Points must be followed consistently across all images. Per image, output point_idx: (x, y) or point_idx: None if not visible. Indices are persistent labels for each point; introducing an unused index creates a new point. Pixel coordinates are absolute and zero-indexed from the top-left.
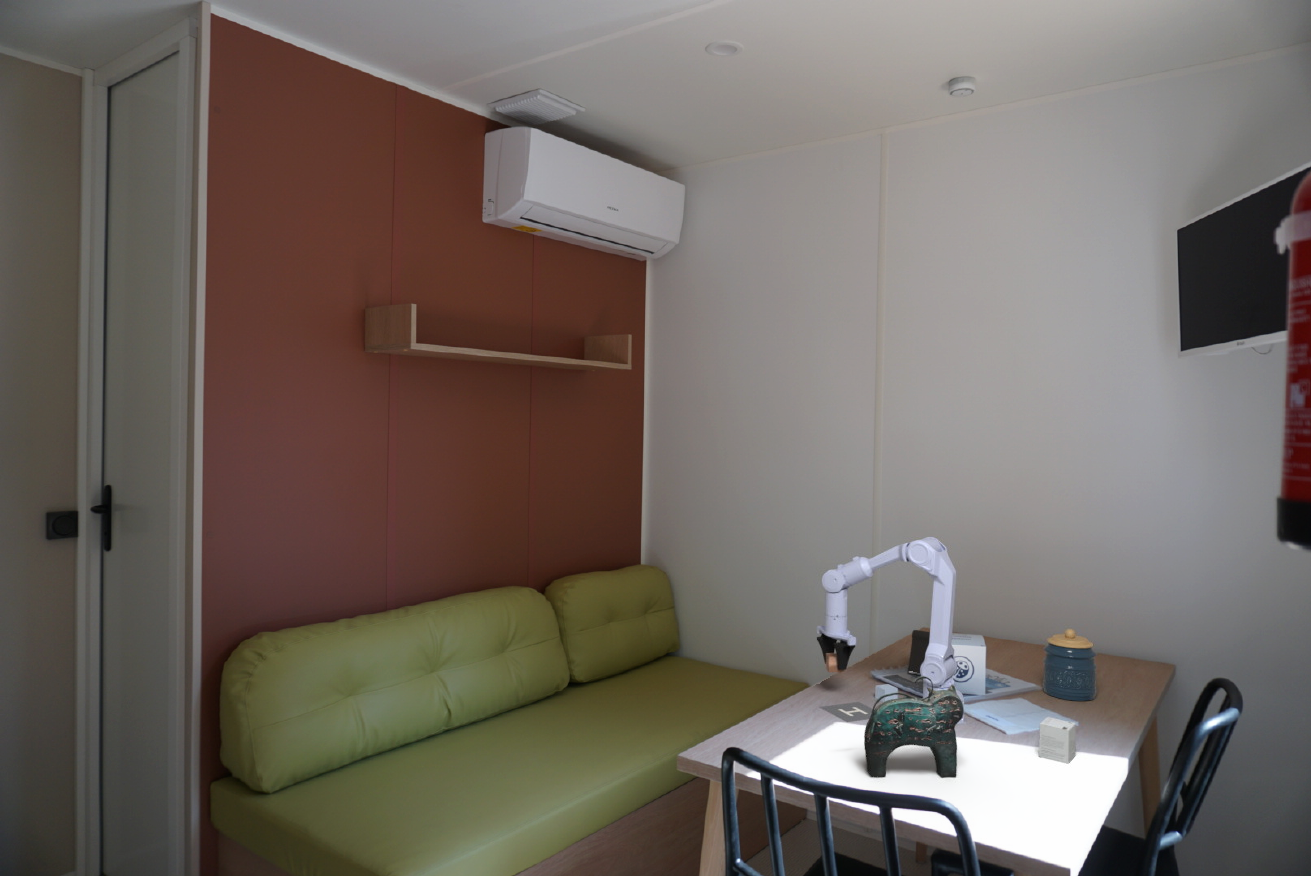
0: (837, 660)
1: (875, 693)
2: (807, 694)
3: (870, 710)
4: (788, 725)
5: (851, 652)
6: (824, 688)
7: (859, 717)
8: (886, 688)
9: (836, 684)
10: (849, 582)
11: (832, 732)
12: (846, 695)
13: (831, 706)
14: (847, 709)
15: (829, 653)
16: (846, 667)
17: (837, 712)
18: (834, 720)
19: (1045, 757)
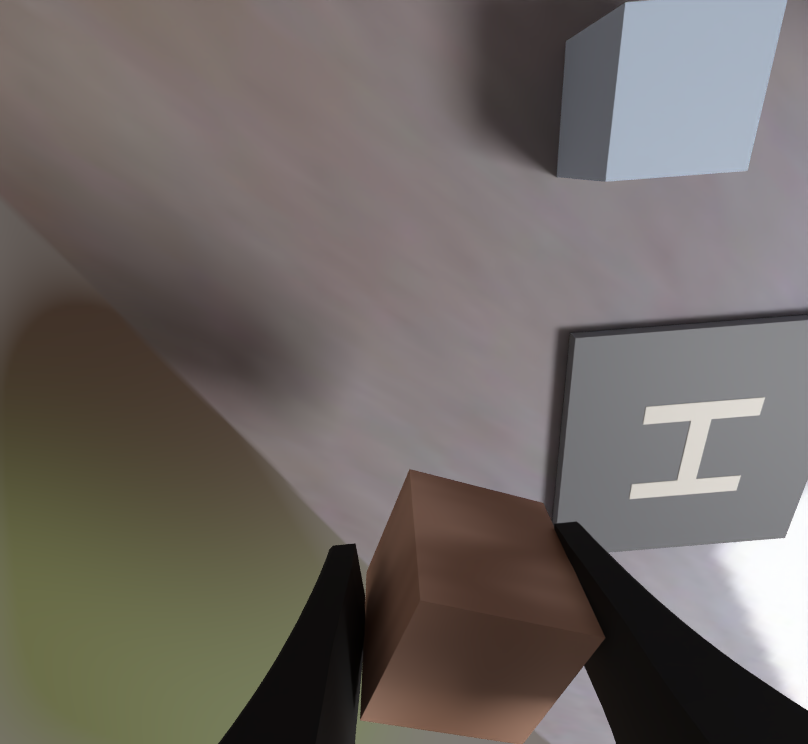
0: (594, 677)
1: (579, 178)
2: (317, 504)
3: (736, 356)
4: None
5: (761, 681)
6: (219, 372)
7: (776, 463)
8: (722, 126)
9: (130, 245)
10: None
11: (798, 605)
12: (392, 312)
13: (573, 506)
14: (651, 459)
15: (383, 696)
16: (589, 534)
17: (660, 519)
18: (701, 548)
19: None
